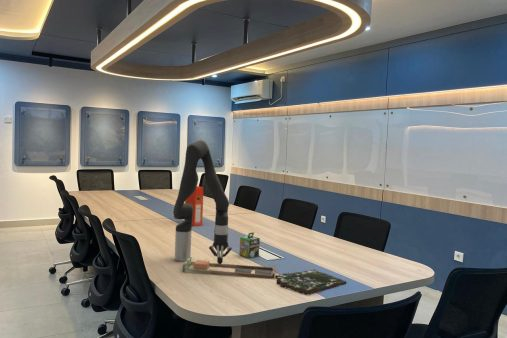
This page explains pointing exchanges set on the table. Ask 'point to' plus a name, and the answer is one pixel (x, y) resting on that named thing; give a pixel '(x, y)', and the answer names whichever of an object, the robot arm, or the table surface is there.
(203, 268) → the block
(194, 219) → the file binder
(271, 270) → the lane
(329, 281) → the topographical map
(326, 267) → the table surface
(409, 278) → the table surface
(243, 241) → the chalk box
